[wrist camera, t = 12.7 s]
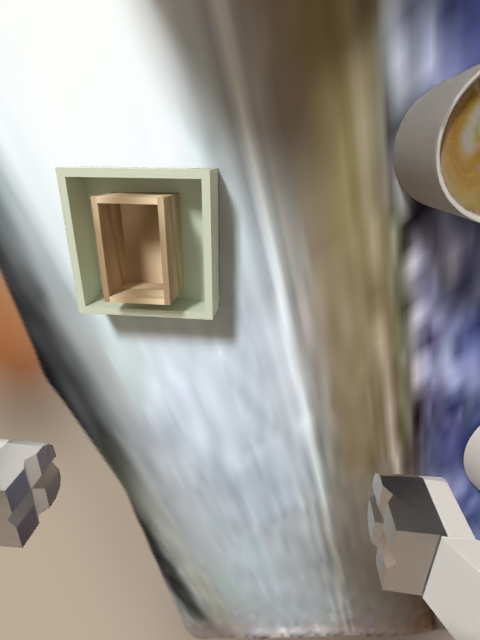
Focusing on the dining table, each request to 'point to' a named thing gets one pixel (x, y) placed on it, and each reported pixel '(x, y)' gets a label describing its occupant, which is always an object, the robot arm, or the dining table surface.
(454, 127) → the coffee mug
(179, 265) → the pine crate
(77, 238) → the sage crate
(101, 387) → the dining table surface
